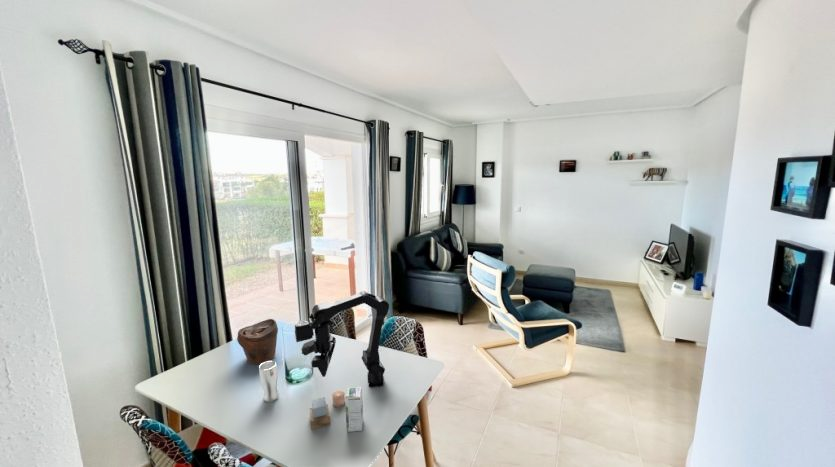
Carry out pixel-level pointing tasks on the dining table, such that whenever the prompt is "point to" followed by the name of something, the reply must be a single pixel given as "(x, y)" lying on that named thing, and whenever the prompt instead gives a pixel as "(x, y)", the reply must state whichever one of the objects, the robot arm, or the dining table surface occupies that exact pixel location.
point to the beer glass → (269, 380)
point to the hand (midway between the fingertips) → (326, 369)
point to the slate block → (319, 407)
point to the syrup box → (354, 409)
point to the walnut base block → (319, 419)
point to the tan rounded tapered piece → (338, 399)
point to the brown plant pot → (259, 341)
